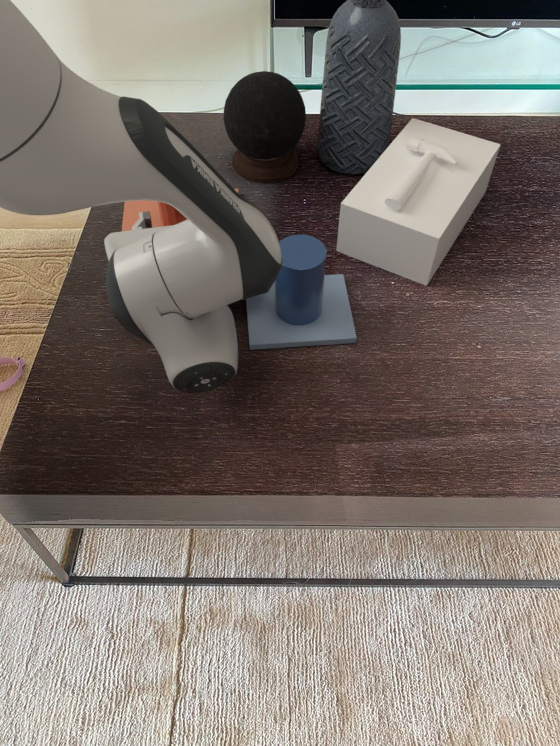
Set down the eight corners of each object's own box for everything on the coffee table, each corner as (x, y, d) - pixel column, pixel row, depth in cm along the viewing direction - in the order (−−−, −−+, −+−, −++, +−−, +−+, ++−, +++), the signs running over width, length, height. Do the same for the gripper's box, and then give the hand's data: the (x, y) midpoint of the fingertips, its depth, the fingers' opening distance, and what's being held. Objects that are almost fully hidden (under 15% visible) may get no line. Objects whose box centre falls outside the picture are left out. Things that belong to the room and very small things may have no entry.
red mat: (120, 258, 91) (119, 253, 90) (126, 199, 100) (125, 194, 99) (242, 251, 92) (242, 246, 91) (238, 193, 101) (238, 188, 100)
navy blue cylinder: (277, 326, 82) (276, 271, 74) (273, 292, 86) (272, 235, 78) (325, 323, 82) (330, 268, 74) (319, 289, 86) (323, 232, 78)
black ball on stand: (219, 147, 108) (211, 61, 96) (291, 135, 111) (292, 50, 99) (237, 192, 101) (231, 105, 89) (314, 178, 103) (318, 91, 91)
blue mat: (249, 349, 81) (249, 345, 80) (245, 284, 88) (244, 279, 87) (356, 343, 81) (356, 338, 81) (342, 279, 89) (343, 273, 88)
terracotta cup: (161, 234, 93) (150, 177, 85) (162, 207, 97) (151, 150, 89) (204, 231, 93) (197, 174, 85) (203, 204, 97) (196, 147, 89)
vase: (390, 176, 103) (421, -9, 81) (317, 176, 103) (327, -10, 81) (383, 135, 111) (410, -45, 88) (315, 135, 111) (324, -46, 88)
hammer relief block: (485, 191, 101) (505, 130, 92) (426, 285, 88) (442, 224, 79) (403, 165, 105) (415, 104, 97) (336, 251, 92) (342, 189, 84)
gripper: (272, 251, 76) (253, 183, 84) (102, 273, 73) (100, 201, 82) (272, 287, 81) (254, 220, 89) (113, 309, 78) (110, 238, 87)
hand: (179, 211), depth 85 cm, fingers open, 8 cm apart
